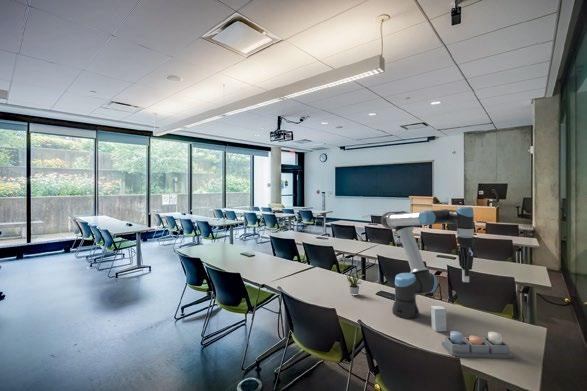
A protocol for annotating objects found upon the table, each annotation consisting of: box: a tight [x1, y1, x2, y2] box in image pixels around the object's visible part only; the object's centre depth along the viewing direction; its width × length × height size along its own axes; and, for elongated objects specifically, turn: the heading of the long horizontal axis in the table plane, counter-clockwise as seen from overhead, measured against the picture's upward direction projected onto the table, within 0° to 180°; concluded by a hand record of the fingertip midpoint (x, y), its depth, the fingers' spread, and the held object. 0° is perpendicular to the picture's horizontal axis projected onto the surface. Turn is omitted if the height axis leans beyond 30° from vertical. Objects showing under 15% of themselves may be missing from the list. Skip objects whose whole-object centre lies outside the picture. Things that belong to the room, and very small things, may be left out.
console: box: [441, 336, 514, 359], centre depth 131 cm, size 10×26×4 cm, turn 86°
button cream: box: [487, 331, 503, 345], centre depth 130 cm, size 5×5×4 cm
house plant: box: [346, 272, 364, 295], centre depth 205 cm, size 14×14×16 cm
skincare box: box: [430, 305, 447, 333], centre depth 151 cm, size 6×4×12 cm
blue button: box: [449, 330, 464, 344], centre depth 132 cm, size 5×5×4 cm
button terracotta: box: [468, 335, 483, 345], centre depth 131 cm, size 5×5×4 cm
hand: (465, 281), depth 148 cm, fingers closed
